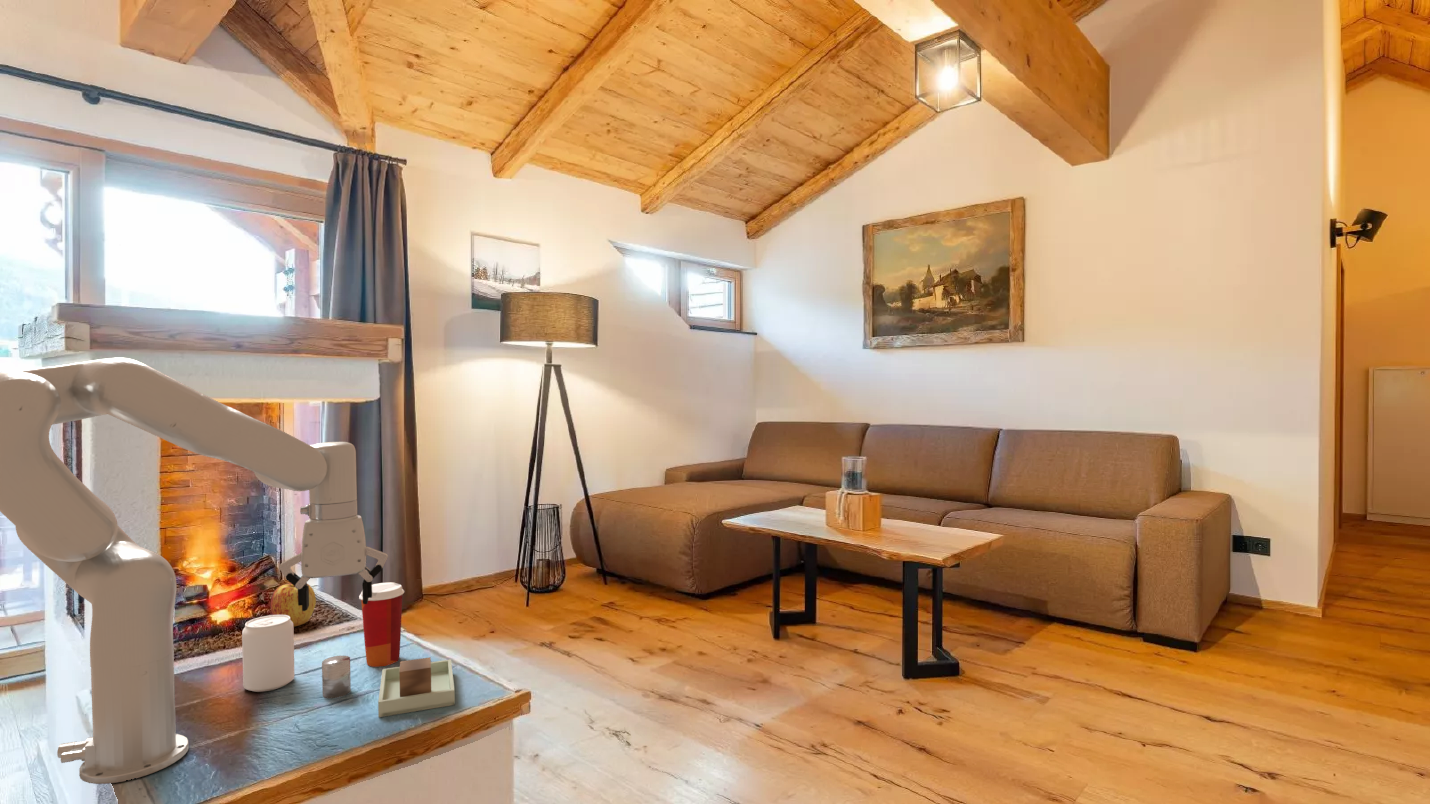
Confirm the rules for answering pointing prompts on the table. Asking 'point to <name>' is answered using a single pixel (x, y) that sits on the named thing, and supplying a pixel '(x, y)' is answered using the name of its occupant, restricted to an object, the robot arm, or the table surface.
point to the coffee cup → (382, 624)
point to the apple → (292, 604)
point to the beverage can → (268, 653)
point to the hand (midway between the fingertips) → (336, 605)
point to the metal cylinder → (336, 677)
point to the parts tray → (436, 698)
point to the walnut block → (415, 677)
